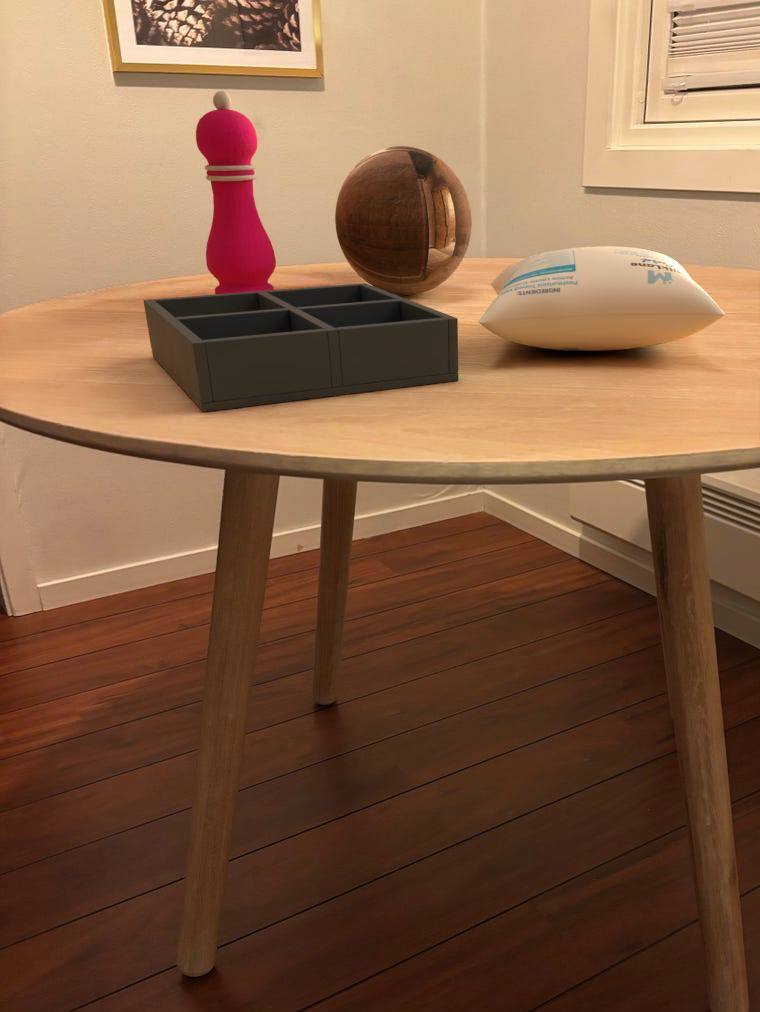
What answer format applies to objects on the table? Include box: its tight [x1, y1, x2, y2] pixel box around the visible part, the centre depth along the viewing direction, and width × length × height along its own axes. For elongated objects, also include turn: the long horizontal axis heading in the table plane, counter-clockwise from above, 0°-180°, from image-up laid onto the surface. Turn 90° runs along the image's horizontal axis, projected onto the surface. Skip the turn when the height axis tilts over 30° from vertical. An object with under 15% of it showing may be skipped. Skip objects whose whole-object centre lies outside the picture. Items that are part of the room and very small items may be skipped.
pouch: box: [477, 245, 726, 352], centre depth 82 cm, size 8×19×20 cm
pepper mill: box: [195, 90, 277, 294], centre depth 98 cm, size 7×7×20 cm
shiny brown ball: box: [334, 145, 473, 296], centre depth 104 cm, size 15×15×15 cm
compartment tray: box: [143, 282, 460, 413], centre depth 75 cm, size 19×19×5 cm
